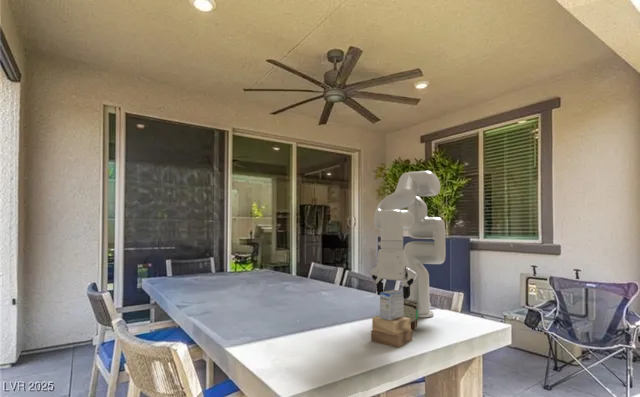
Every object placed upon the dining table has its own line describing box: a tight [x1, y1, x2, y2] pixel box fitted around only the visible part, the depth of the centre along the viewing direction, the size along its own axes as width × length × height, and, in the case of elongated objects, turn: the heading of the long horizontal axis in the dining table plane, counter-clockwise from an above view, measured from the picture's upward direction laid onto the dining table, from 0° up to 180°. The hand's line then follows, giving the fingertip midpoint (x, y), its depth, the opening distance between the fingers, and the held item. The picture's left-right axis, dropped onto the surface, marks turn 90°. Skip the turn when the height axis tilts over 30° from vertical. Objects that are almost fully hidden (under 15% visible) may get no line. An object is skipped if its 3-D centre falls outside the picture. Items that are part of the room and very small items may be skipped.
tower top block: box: [371, 315, 411, 336], centre depth 121 cm, size 9×9×4 cm
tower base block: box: [370, 329, 413, 349], centre depth 121 cm, size 10×10×4 cm
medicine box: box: [379, 289, 404, 320], centre depth 122 cm, size 8×4×9 cm, turn 133°
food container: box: [404, 299, 420, 332], centre depth 137 cm, size 12×6×10 cm, turn 47°
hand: (393, 296), depth 122 cm, fingers open, 9 cm apart
